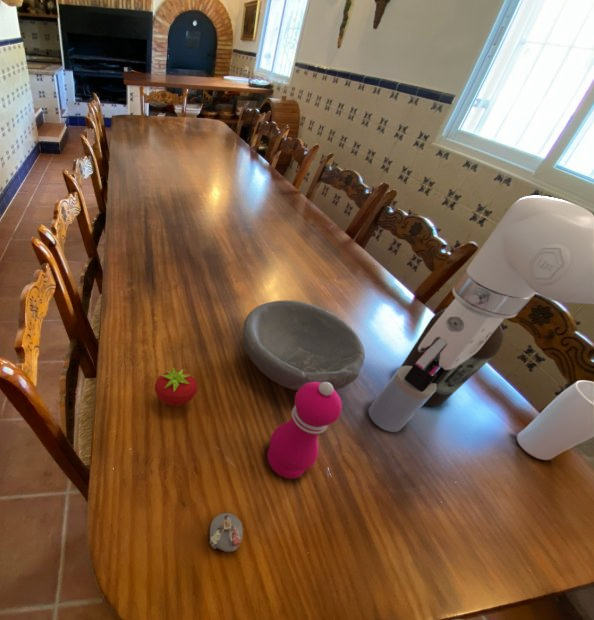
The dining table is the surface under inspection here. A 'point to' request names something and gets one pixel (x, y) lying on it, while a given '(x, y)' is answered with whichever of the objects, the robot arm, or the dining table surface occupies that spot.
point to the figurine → (226, 532)
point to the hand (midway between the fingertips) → (420, 380)
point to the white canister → (398, 401)
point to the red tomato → (175, 387)
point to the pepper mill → (303, 429)
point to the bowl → (302, 345)
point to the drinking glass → (561, 423)
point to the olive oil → (461, 372)
